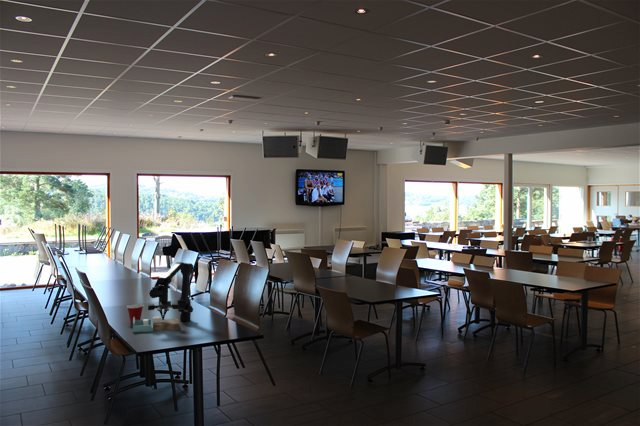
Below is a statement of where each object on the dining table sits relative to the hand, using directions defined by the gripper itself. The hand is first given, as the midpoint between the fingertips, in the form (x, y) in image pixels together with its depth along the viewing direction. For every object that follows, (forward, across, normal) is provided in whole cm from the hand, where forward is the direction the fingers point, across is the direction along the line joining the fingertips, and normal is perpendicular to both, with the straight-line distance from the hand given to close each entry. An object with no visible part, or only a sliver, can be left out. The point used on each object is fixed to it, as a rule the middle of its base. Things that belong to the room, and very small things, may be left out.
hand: (162, 320), depth 343 cm
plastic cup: (+5, -17, +18) cm, 26 cm away
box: (+5, -12, 0) cm, 13 cm away
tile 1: (+2, -9, 0) cm, 9 cm away
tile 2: (+1, -4, 0) cm, 4 cm away
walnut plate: (+5, +2, 0) cm, 5 cm away
